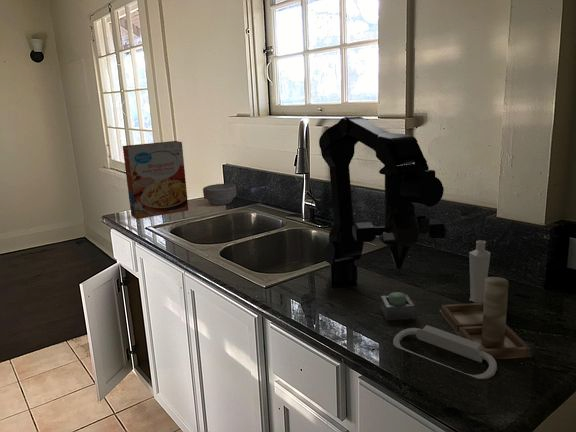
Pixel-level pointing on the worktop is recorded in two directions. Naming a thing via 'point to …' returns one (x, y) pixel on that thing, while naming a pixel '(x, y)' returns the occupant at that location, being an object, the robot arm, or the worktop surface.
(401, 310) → the button housing
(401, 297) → the button
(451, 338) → the oval loop handle
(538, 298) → the worktop surface
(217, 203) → the paper bowls
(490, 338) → the wooden billet
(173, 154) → the pasta box
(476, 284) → the perfume bottle
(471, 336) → the divided wooden tray
